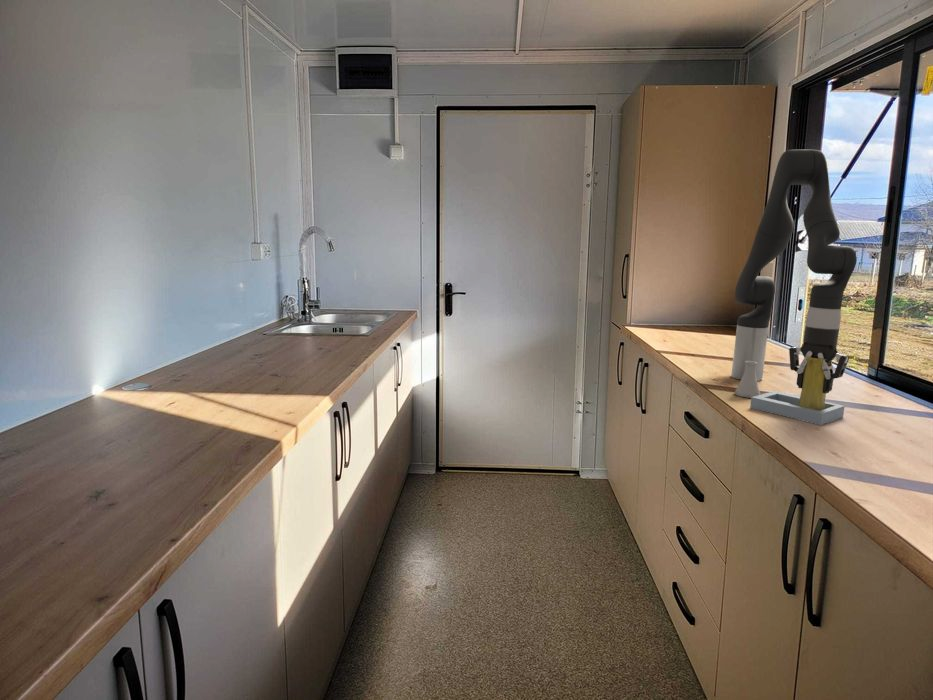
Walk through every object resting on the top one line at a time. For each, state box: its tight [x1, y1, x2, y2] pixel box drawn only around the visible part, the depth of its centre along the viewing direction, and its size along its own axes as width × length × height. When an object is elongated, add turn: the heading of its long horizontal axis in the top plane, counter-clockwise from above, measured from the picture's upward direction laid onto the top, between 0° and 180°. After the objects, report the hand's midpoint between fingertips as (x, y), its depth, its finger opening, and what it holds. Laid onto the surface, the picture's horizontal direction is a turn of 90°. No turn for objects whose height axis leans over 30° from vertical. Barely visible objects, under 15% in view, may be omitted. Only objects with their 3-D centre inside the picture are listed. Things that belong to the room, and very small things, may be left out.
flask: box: [734, 361, 761, 399], centre depth 178 cm, size 7×7×10 cm
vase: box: [798, 357, 829, 411], centre depth 159 cm, size 6×6×14 cm
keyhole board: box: [750, 390, 845, 426], centre depth 163 cm, size 13×18×3 cm
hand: (813, 390), depth 159 cm, fingers closed on vase, 5 cm apart
